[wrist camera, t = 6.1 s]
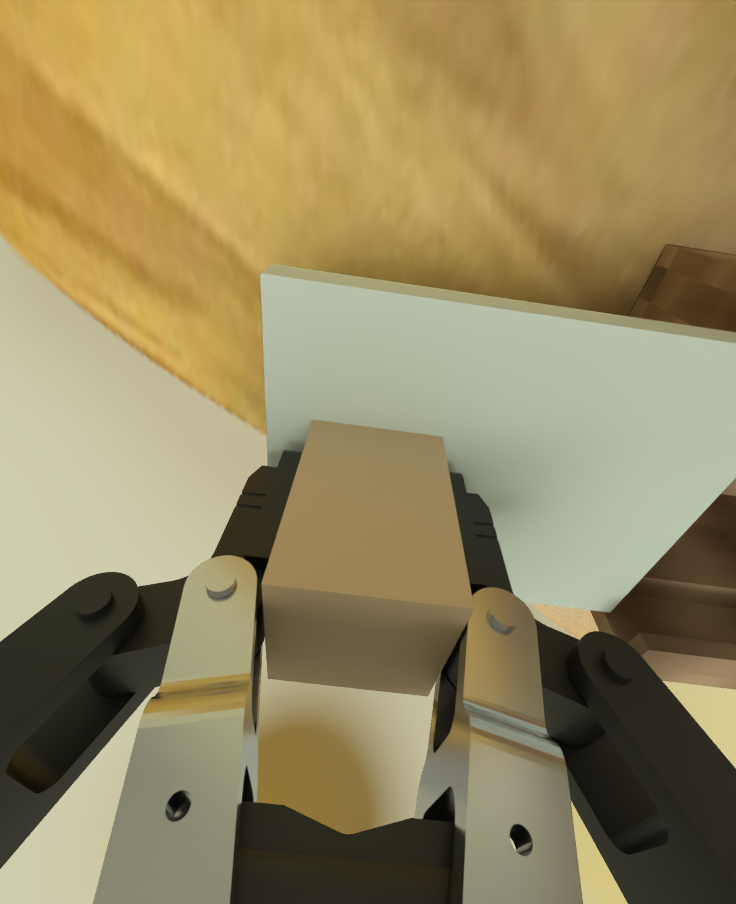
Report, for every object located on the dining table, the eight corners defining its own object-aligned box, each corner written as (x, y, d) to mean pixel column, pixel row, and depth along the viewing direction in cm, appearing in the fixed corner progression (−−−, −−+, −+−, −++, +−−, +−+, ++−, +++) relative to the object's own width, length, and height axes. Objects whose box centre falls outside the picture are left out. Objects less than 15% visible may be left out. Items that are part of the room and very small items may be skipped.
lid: (806, 343, 9) (1245, 530, 5) (598, 589, 16) (691, 778, 11) (272, 263, 9) (130, 379, 4) (278, 550, 15) (225, 729, 10)
